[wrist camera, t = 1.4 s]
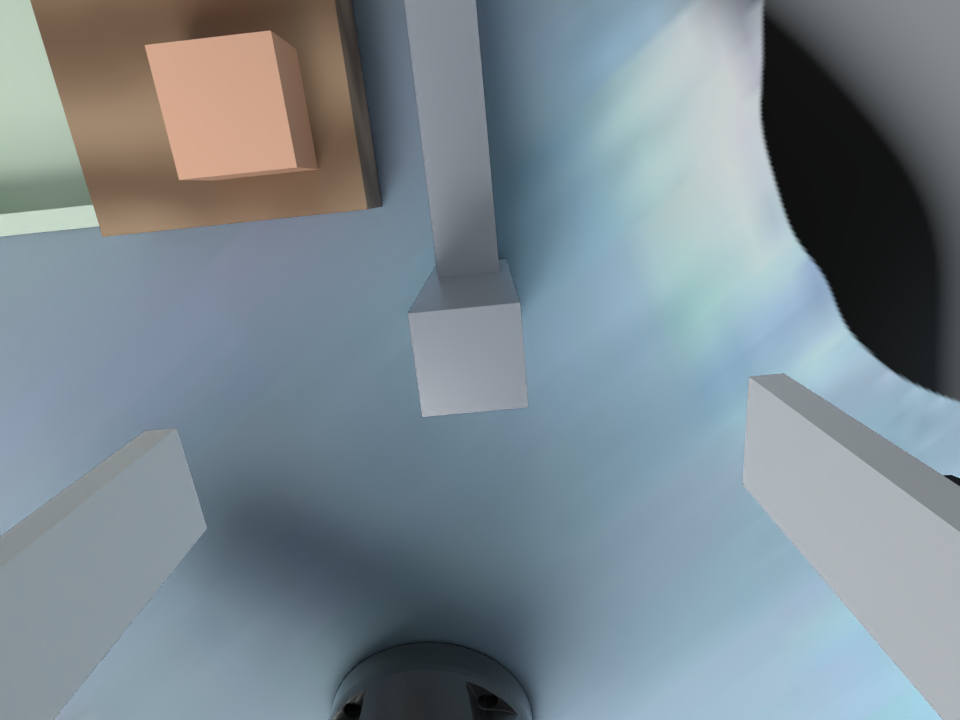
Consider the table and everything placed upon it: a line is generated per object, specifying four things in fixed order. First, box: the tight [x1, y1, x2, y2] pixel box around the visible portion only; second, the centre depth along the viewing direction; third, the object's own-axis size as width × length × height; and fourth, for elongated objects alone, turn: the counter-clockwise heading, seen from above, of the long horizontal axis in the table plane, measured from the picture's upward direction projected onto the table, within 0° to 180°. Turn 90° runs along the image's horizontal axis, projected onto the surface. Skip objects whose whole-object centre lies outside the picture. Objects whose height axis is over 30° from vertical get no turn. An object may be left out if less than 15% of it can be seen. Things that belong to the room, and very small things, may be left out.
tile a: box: [145, 30, 318, 181], centre depth 23 cm, size 5×5×3 cm
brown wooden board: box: [30, 0, 382, 237], centre depth 25 cm, size 17×13×4 cm
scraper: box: [404, 0, 528, 417], centre depth 22 cm, size 24×4×12 cm, turn 6°
